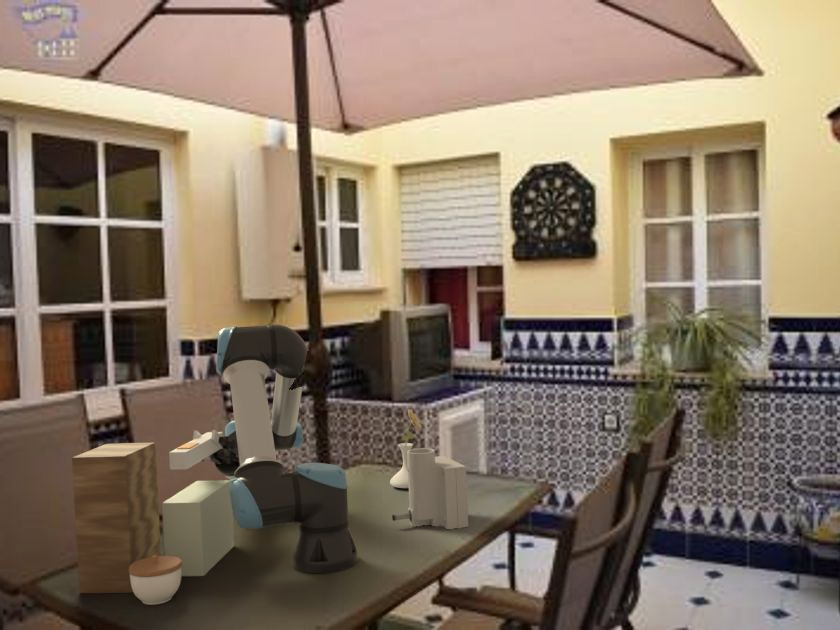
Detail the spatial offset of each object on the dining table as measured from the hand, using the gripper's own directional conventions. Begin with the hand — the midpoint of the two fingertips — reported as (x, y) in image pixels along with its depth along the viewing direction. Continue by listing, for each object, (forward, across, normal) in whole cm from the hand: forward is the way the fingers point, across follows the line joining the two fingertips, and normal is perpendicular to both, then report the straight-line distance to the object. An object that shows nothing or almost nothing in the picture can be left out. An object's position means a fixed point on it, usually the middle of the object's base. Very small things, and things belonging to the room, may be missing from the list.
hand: (204, 435), depth 204 cm
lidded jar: (+13, 0, -41) cm, 43 cm away
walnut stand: (+2, +14, -35) cm, 38 cm away
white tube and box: (-34, -53, -15) cm, 64 cm away
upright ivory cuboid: (-9, 0, -29) cm, 30 cm away
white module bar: (+2, 0, -6) cm, 7 cm away
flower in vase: (-71, -44, +6) cm, 84 cm away
